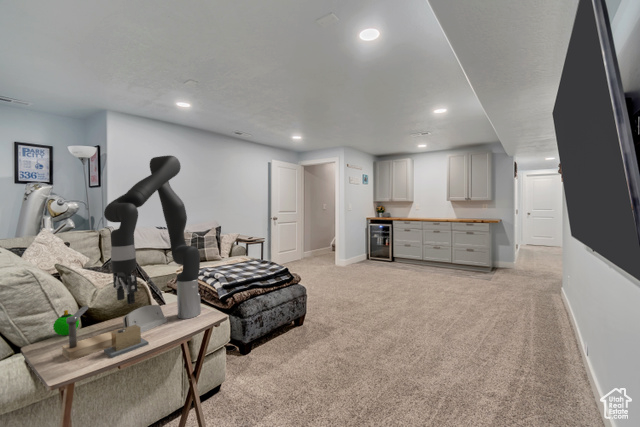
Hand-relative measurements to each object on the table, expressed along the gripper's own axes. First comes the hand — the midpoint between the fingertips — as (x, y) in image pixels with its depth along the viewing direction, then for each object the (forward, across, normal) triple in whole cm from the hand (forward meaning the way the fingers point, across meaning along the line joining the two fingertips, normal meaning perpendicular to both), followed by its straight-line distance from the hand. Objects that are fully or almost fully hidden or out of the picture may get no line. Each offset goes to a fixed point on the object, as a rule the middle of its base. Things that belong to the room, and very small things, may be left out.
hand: (125, 301), depth 108 cm
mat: (+17, 0, 0) cm, 17 cm away
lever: (+5, +16, +10) cm, 19 cm away
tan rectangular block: (+16, 0, 0) cm, 16 cm away
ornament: (+17, +34, +9) cm, 39 cm away
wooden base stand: (+17, +10, +6) cm, 21 cm away
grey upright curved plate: (+18, +15, -12) cm, 26 cm away
